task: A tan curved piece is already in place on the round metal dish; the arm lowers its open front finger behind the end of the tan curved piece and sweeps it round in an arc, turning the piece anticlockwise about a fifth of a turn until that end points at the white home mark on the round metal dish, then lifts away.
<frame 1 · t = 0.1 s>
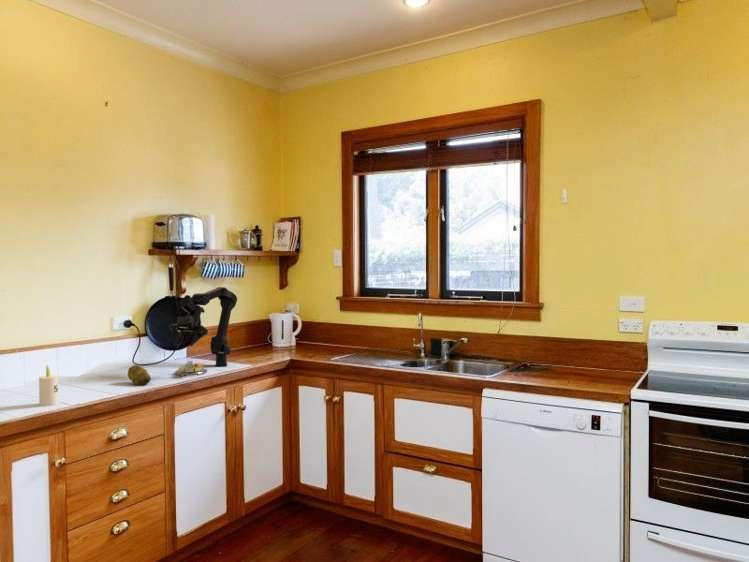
hand: (182, 345, 274), 15 cm above the countertop, tool tilted 30°, fingers open, 9 cm apart
potato: (138, 384, 257), on the countertop
round metal dish: (191, 373, 283), on the countertop
tan curved piece: (190, 366, 279), point 4 cm above the countertop, hinge at 0.0°
candle: (49, 404, 220), on the countertop
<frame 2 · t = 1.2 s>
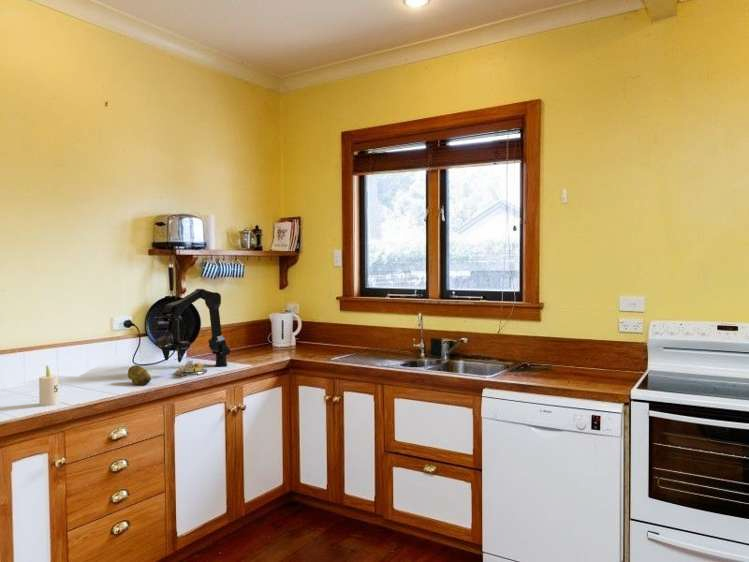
hand: (173, 361, 278), 7 cm above the countertop, tool pointing down, fingers open, 9 cm apart
nothing on the countertop moved.
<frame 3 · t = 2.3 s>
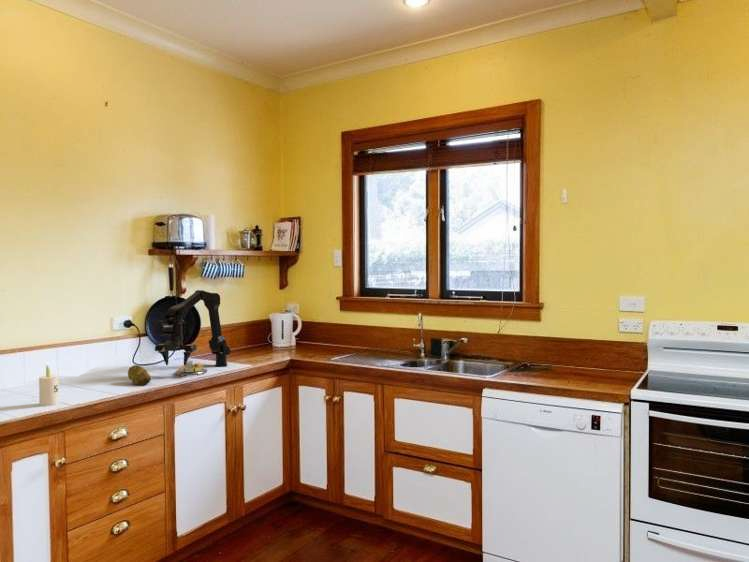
hand: (175, 365, 275), 5 cm above the countertop, tool pointing down, fingers open, 8 cm apart
tan curved piece: (190, 366, 279), point 4 cm above the countertop, hinge at 0.0°, touching gripper
everything else where it was.
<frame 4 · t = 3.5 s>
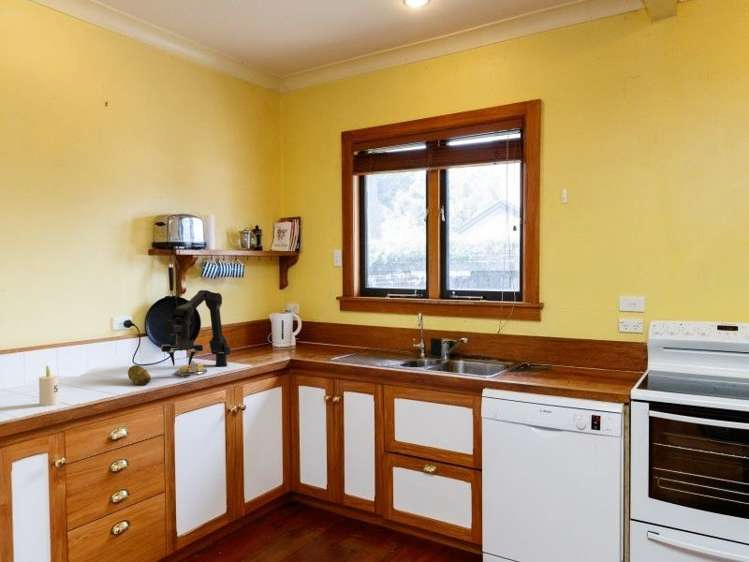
hand: (181, 365, 273), 5 cm above the countertop, tool pointing down, fingers open, 7 cm apart
tan curved piece: (191, 366, 279), point 4 cm above the countertop, hinge at 14.3°, touching gripper
everything else where it was.
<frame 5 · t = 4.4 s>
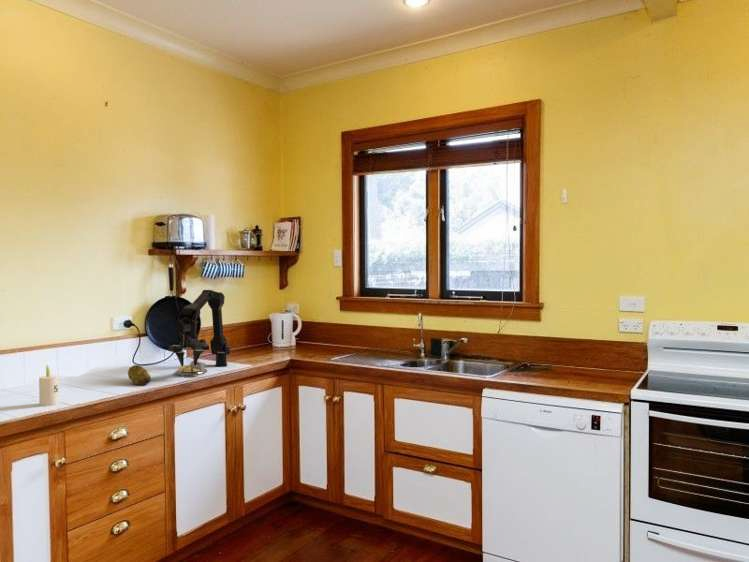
hand: (188, 365, 273), 5 cm above the countertop, tool pointing down, fingers open, 6 cm apart
tan curved piece: (194, 365, 280), point 4 cm above the countertop, hinge at 34.9°, touching gripper
everything else where it was.
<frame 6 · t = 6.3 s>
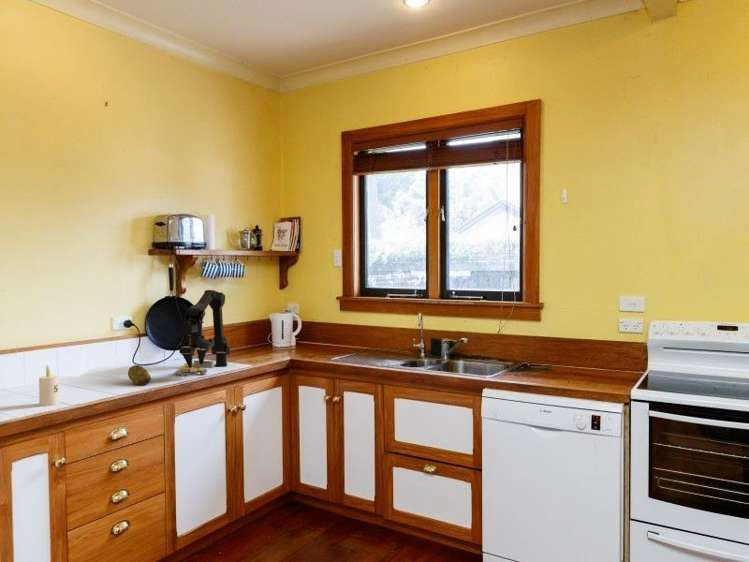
hand: (195, 365, 273), 5 cm above the countertop, tool pointing down, fingers open, 9 cm apart
tan curved piece: (196, 365, 282), point 4 cm above the countertop, hinge at 66.0°
everything else where it was.
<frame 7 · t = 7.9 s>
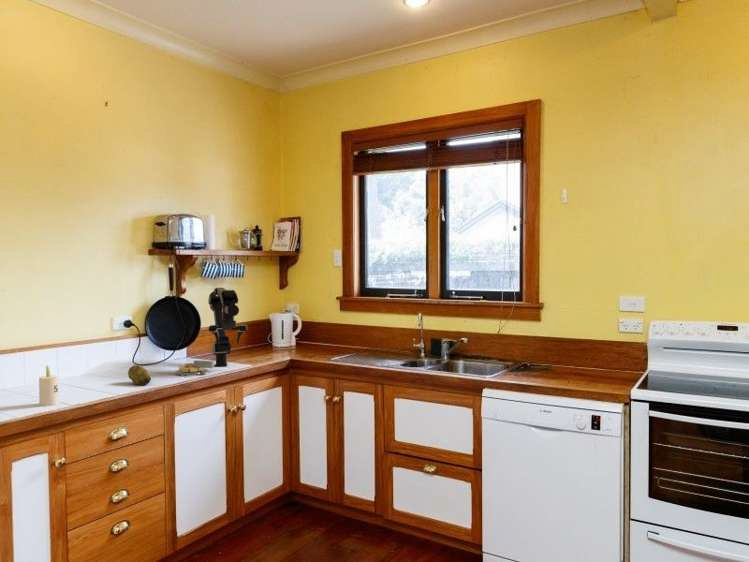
hand: (228, 345, 290), 13 cm above the countertop, tool pointing down, fingers open, 9 cm apart
nothing on the countertop moved.
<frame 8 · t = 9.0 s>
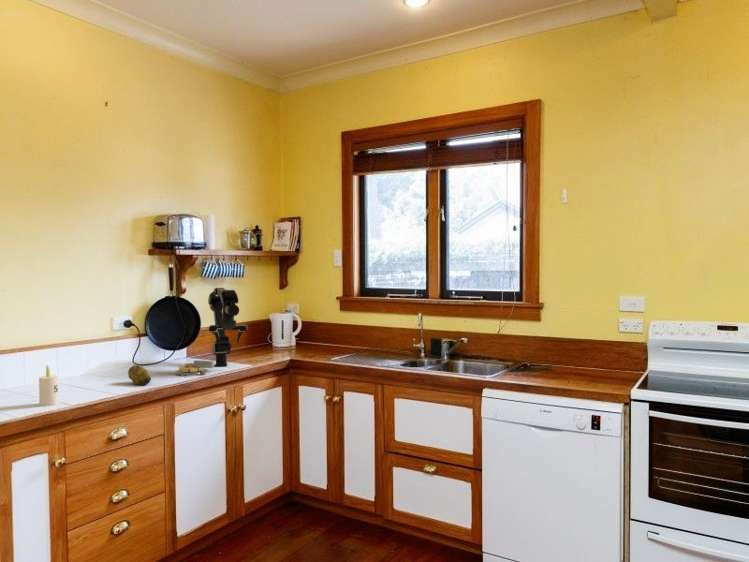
hand: (228, 344, 290), 13 cm above the countertop, tool pointing down, fingers open, 9 cm apart
nothing on the countertop moved.
at the end: tan curved piece at +66° (first picture: +0°); tan curved piece touching nothing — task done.
